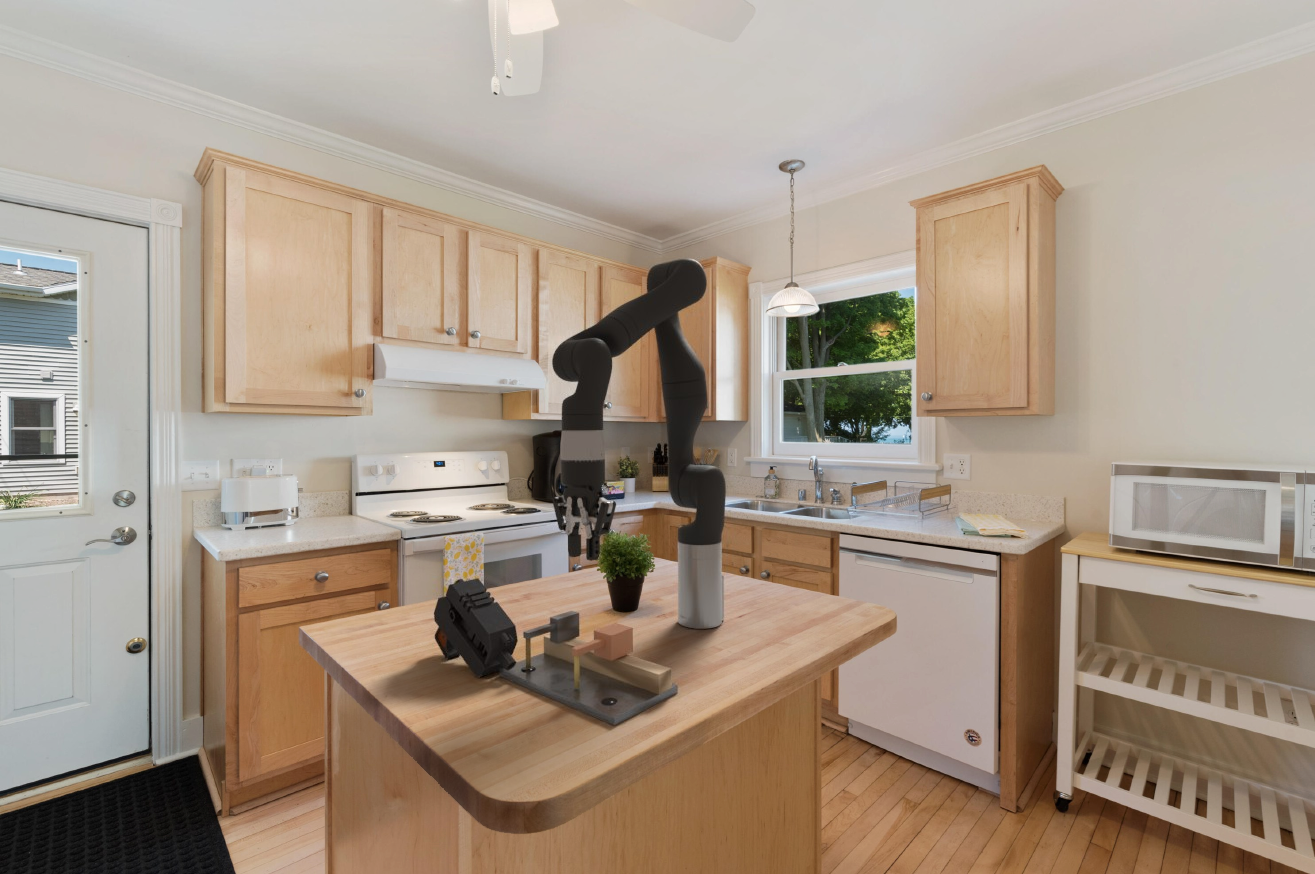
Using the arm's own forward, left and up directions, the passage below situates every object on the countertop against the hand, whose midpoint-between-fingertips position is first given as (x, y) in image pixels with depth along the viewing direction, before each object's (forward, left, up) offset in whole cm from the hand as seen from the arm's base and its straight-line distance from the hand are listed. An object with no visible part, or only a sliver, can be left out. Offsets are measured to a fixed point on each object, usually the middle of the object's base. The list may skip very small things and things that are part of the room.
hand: (583, 557), depth 106 cm
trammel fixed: (+3, +5, -18) cm, 19 cm away
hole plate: (+4, +4, -19) cm, 20 cm away
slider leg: (+3, +7, -18) cm, 19 cm away
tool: (+11, -16, -20) cm, 28 cm away
